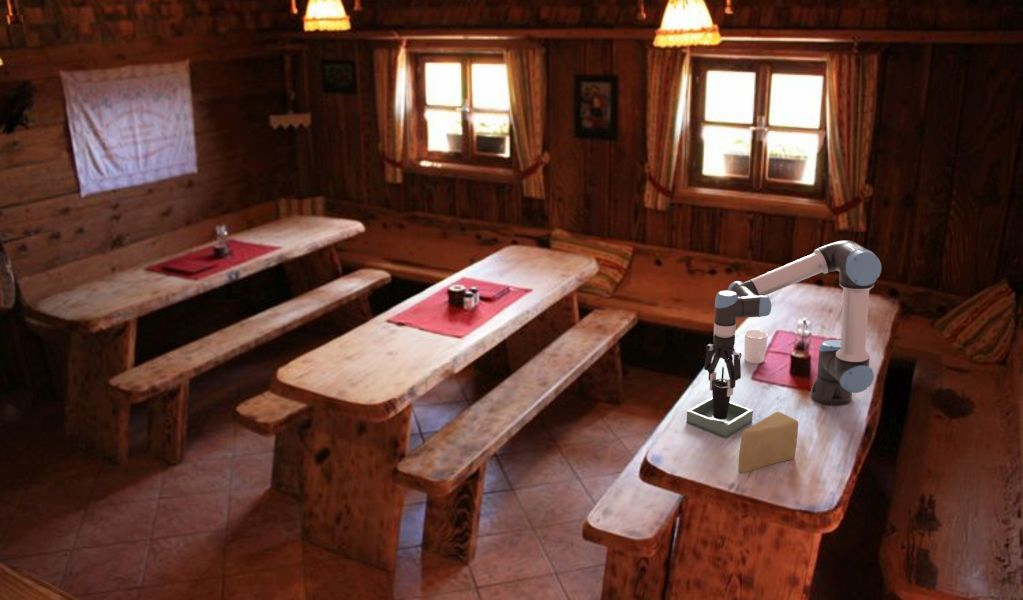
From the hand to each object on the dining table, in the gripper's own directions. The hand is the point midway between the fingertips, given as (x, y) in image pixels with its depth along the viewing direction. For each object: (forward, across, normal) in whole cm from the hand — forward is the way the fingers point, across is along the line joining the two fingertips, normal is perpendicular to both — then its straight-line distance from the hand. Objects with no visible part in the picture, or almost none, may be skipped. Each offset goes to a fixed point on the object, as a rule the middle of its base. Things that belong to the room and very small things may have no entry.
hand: (721, 392), depth 323 cm
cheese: (+13, -27, +14) cm, 33 cm away
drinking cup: (+10, 0, 0) cm, 10 cm away
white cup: (+13, +22, -58) cm, 63 cm away
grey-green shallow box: (+12, 0, 0) cm, 12 cm away
